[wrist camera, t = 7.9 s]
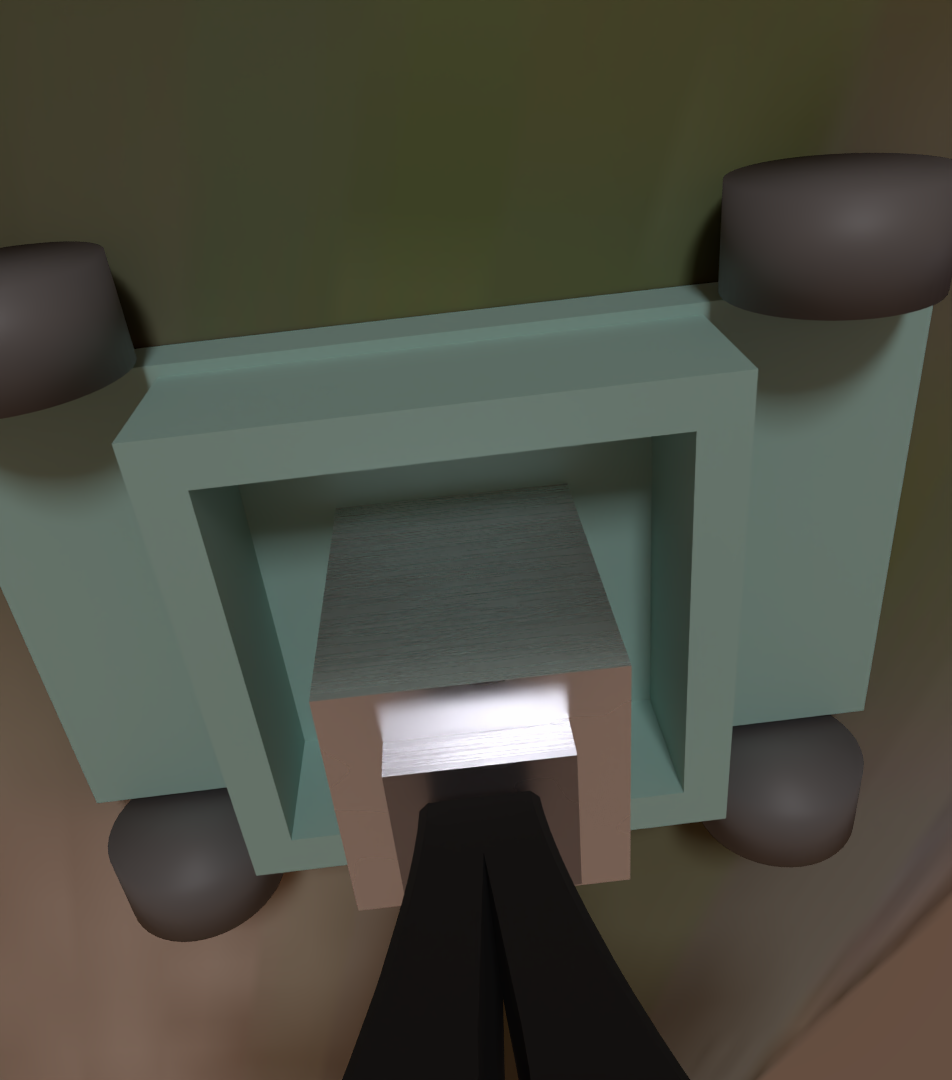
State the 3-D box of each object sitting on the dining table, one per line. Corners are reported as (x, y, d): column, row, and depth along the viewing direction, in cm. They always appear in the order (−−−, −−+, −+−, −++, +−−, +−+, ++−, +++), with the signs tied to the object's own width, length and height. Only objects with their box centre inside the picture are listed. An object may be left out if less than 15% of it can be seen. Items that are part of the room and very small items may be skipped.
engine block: (567, 483, 15) (642, 697, 10) (573, 665, 17) (639, 914, 12) (336, 508, 15) (304, 735, 10) (370, 688, 17) (356, 947, 12)
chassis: (924, 143, 14) (1070, 177, 11) (834, 740, 20) (908, 866, 17) (-104, 259, 14) (-249, 327, 11) (135, 825, 20) (87, 968, 17)
